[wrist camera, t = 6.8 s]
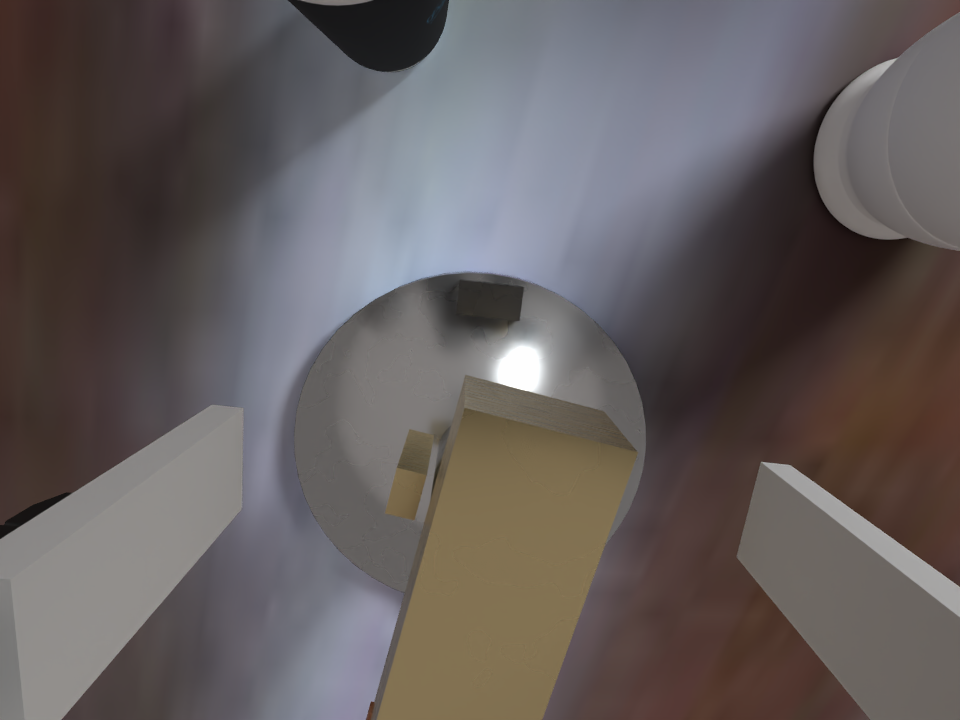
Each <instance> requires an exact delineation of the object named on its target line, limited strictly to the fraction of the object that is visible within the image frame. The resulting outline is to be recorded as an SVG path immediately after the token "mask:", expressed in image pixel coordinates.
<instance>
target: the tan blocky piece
mask: <svg viewBox="0 0 960 720" xmlns="http://www.w3.org/2000/svg"><path fill="white" fill-rule="evenodd" d="M433 439H434V435H431V434H427V433H423V432H419V431H415V430H411V429H409V432H408V435H407V438H406V441H405V444H404V447H403V450H402V453H401V456H400V459H399V462H398V466H397V469H396V473H395V476H394V480H393V484H392V488H391V492H390V496H389V500H388V503H387V507H386V511H385V514H390V515H394V516H398V517H402V518H406V519H410V520H415V517H416V513H417V509H418V506H419V502H420V498H421V495H422V491H423V487H424V484H425V480H426V476H427V472H428V466H429V461H430V455H431V450H432V444H433ZM637 455H638V452H637V450H636V449H635V448H634V447H633V446H632V444H631V443H630V442H629V441H628V440H627V438H626V437H625V436H624V435H623V434H622V432H621V431H620V430H619V429H618V427H617V426H616V425H615V424H614V423H613V421H612V420H611V419H610V418H609V417H608V415H607V414H606V413H605V412H604V411H602V410H598V409H594V408H590V407H586V406H583V405H579V404H575V403H571V402H567V401H564V400H560V399H556V398H552V397H548V396H545V395H541V394H537V393H533V392H529V391H526V390H522V389H518V388H514V387H510V386H507V385H503V384H499V383H495V382H491V381H488V380H484V379H480V378H476V377H472V376H469V375H465V378H464V382H463V385H462V389H461V392H460V396H459V400H458V403H457V407H456V410H455V414H454V417H453V421H452V425H451V428H450V432H449V435H448V439H447V443H446V446H445V450H444V453H443V457H442V461H441V464H440V468H439V471H438V475H437V479H436V482H435V486H434V489H433V493H432V497H431V500H430V504H429V507H428V511H427V514H426V518H425V522H424V525H423V529H422V532H421V536H420V540H419V543H418V547H417V550H416V554H415V558H414V561H413V565H412V568H411V572H410V576H409V579H408V583H407V586H406V590H405V593H404V597H403V601H402V604H401V608H400V611H399V615H398V619H397V622H396V626H395V629H394V633H393V637H392V640H391V644H390V647H389V651H388V655H387V658H386V662H385V665H384V669H383V673H382V676H381V680H380V683H379V687H378V690H377V694H376V698H375V701H374V702H371V703H370V707H369V710H368V714H367V718H366V720H542V719H543V716H544V713H545V710H546V707H547V705H548V702H549V699H550V696H551V694H552V691H553V688H554V685H555V682H556V680H557V677H558V674H559V671H560V669H561V666H562V663H563V660H564V657H565V655H566V652H567V649H568V646H569V644H570V641H571V638H572V635H573V632H574V630H575V627H576V624H577V621H578V619H579V616H580V613H581V610H582V607H583V605H584V602H585V599H586V596H587V594H588V591H589V588H590V585H591V582H592V580H593V577H594V574H595V571H596V569H597V566H598V563H599V560H600V557H601V555H602V552H603V549H604V546H605V544H606V541H607V538H608V535H609V532H610V530H611V527H612V524H613V521H614V519H615V516H616V513H617V510H618V507H619V505H620V502H621V499H622V496H623V494H624V491H625V488H626V485H627V482H628V480H629V477H630V474H631V471H632V469H633V466H634V463H635V460H636V457H637Z"/></svg>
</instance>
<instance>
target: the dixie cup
mask: <svg viewBox="0 0 960 720" xmlns="http://www.w3.org/2000/svg"><path fill="white" fill-rule="evenodd" d="M288 1H289V2H290V3H291V4H293V5H294V6H295V7H296V8H297V9H298V10H299V11H300V12H301V13H302V14H303V15H304V16H305V17H306V18H308V19H309V20H310V21H311V22H312V23H313V24H314V25H315V26H316V27H317V28H318V29H319V30H320V31H322V32H323V33H324V34H325V35H326V36H327V37H328V38H329V39H330V40H331V41H332V42H333V43H334V44H335V45H337V46H338V47H339V48H340V49H341V50H342V51H343V52H344V53H345V54H346V55H347V56H348V57H350V58H351V59H352V60H354V61H355V62H357V63H358V64H360V65H362V66H364V67H367V68H369V69H373V70H377V71H386V72H396V71H402V70H405V69H408V68H411V67H413V66H414V65H416V64H418V63H419V62H420V61H422V60H423V59H424V58H425V57H426V56H427V55H428V54H429V53H430V52H431V51H432V49H433V48H434V47H435V45H436V44H437V42H438V40H439V38H440V36H441V34H442V32H443V29H444V26H445V22H446V17H447V10H448V3H449V0H288Z"/></svg>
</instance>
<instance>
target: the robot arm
mask: <svg viewBox="0 0 960 720" xmlns="http://www.w3.org/2000/svg"><path fill="white" fill-rule="evenodd" d="M242 476H243V408H239V407H229V406H220V405H211V406H209V407H208V408H206V409H204V410H203V411H201V412H200V413H198V414H197V415H195V416H193V417H192V418H190V419H189V420H187V421H186V422H184V423H182V424H181V425H179V426H178V427H176V428H175V429H173V430H171V431H170V432H168V433H167V434H165V435H163V436H162V437H160V438H159V439H157V440H156V441H154V442H152V443H151V444H149V445H148V446H146V447H145V448H143V449H141V450H140V451H138V452H137V453H135V454H134V455H132V456H130V457H129V458H127V459H126V460H124V461H123V462H121V463H119V464H118V465H116V466H115V467H113V468H112V469H110V470H108V471H107V472H105V473H104V474H102V475H100V476H99V477H97V478H96V479H94V480H93V481H91V482H89V483H88V484H86V485H85V486H83V487H82V488H80V489H78V490H77V491H75V492H74V493H64V494H61V495H59V496H56V497H53V498H51V499H48V500H45V501H42V502H40V503H37V504H34V505H32V506H30V507H29V508H27V509H25V510H24V511H22V512H20V513H19V514H17V515H16V516H14V517H12V518H11V519H9V520H7V521H6V522H5V524H4V525H0V720H61V719H62V718H63V717H64V716H65V715H66V714H67V712H68V711H69V710H70V709H71V708H72V707H73V705H74V704H75V703H76V702H77V701H78V700H79V698H80V697H81V696H82V695H83V694H84V693H85V691H86V690H87V689H88V688H89V687H90V686H91V684H92V683H93V682H94V681H95V680H96V679H97V677H98V676H99V675H100V674H101V673H102V672H103V670H104V669H105V668H106V667H107V666H108V665H109V663H110V662H111V661H112V660H113V659H114V658H115V656H116V655H117V654H118V653H119V652H120V651H121V649H122V648H123V647H124V646H125V645H126V644H127V642H128V641H129V640H130V639H131V638H132V637H133V635H134V634H135V633H136V632H137V631H138V630H139V628H140V627H141V626H142V625H143V624H144V623H145V621H146V620H147V619H148V618H149V617H150V616H151V614H152V613H153V612H154V611H155V610H156V609H157V607H158V606H159V605H160V604H161V603H162V602H163V600H164V599H165V598H166V597H167V596H168V595H169V593H170V592H171V591H172V590H173V589H174V588H175V587H176V585H177V584H178V583H179V582H180V581H181V580H182V578H183V577H184V576H185V575H186V574H187V573H188V571H189V570H190V569H191V568H192V567H193V566H194V564H195V563H196V562H197V561H198V560H199V559H200V557H201V556H202V555H203V554H204V553H205V552H206V550H207V549H208V548H209V547H210V546H211V545H212V543H213V542H214V541H215V540H216V539H217V538H218V536H219V535H220V534H221V533H222V532H223V531H224V529H225V528H226V527H227V526H228V525H229V524H230V522H231V521H232V520H233V519H234V518H235V517H236V515H237V514H238V513H239V512H240V511H241V510H242ZM737 558H738V559H739V561H740V562H741V563H742V564H743V565H744V567H745V568H746V569H747V570H748V571H749V573H750V574H751V575H752V576H753V578H754V579H755V580H756V581H757V582H758V584H759V585H760V586H761V587H762V588H763V590H764V591H765V592H766V593H767V595H768V596H769V597H770V598H771V599H772V601H773V602H774V603H775V604H776V605H777V607H778V608H779V609H780V610H781V612H782V613H783V614H784V615H785V616H786V618H787V619H788V620H789V621H790V622H791V624H792V625H793V626H794V627H795V629H796V630H797V631H798V632H799V633H800V635H801V636H802V637H803V638H804V639H805V641H806V642H807V643H808V644H809V646H810V647H811V648H812V649H813V650H814V652H815V653H816V654H817V655H818V656H819V658H820V659H821V660H822V661H823V663H824V664H825V665H826V666H827V667H828V669H829V670H830V671H831V672H832V673H833V675H834V676H835V677H836V678H837V680H838V681H839V682H840V683H841V684H842V686H843V687H844V688H845V689H846V690H847V692H848V693H849V694H850V695H851V697H852V698H853V699H854V700H855V701H856V703H857V704H858V705H859V706H860V707H861V709H862V710H863V711H864V712H865V714H866V715H867V716H868V717H869V718H870V720H960V587H959V586H958V585H956V584H955V583H953V582H952V581H951V580H949V579H948V578H946V577H945V576H944V575H942V574H941V573H939V572H938V571H937V570H935V569H934V568H933V567H931V566H930V565H928V564H927V563H926V562H924V561H923V560H921V559H920V558H919V557H917V556H916V555H914V554H913V553H912V552H910V551H909V550H907V549H906V548H905V547H903V546H902V545H900V544H899V543H898V542H896V541H895V540H894V539H892V538H891V537H889V536H888V535H887V534H885V533H884V532H882V531H881V530H880V529H878V528H877V527H875V526H874V525H873V524H871V523H870V522H868V521H867V520H866V519H864V518H863V517H862V516H860V515H859V514H857V513H856V512H855V511H853V510H852V509H850V508H849V507H848V506H846V505H845V504H843V503H842V502H841V501H839V500H838V499H836V498H835V497H834V496H832V495H831V494H830V493H828V492H827V491H825V490H824V489H823V488H821V487H820V486H818V485H817V484H816V483H814V482H813V481H811V480H810V479H809V478H807V477H806V476H804V475H803V474H802V473H800V472H799V471H797V470H796V469H795V468H793V467H792V466H791V465H784V464H775V463H765V462H761V464H760V468H759V471H758V475H757V479H756V483H755V487H754V491H753V495H752V499H751V503H750V507H749V511H748V515H747V519H746V522H745V526H744V530H743V534H742V538H741V542H740V546H739V550H738V554H737Z"/></svg>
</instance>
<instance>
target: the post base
mask: <svg viewBox="0 0 960 720" xmlns="http://www.w3.org/2000/svg"><path fill="white" fill-rule="evenodd" d="M465 375H469V376H472V377H476V378H480V379H484V380H488V381H491V382H495V383H499V384H503V385H507V386H510V387H514V388H518V389H522V390H526V391H529V392H533V393H537V394H541V395H545V396H548V397H552V398H556V399H560V400H564V401H567V402H571V403H575V404H579V405H583V406H586V407H590V408H594V409H598V410H602V411H604V412H605V413H606V414H607V415H608V417H609V418H610V419H611V420H612V421H613V423H614V424H615V425H616V426H617V427H618V429H619V430H620V431H621V432H622V434H623V435H624V436H625V437H626V438H627V440H628V441H629V442H630V443H631V444H632V446H633V447H634V448H635V449H636V450H637V452H638V455H637V457H636V460H635V463H634V466H633V469H632V471H631V474H630V477H629V480H628V482H627V485H626V488H625V491H624V494H623V496H622V499H621V502H620V505H619V507H618V510H617V513H616V516H615V519H614V521H613V524H612V527H611V530H610V532H609V535H608V538H607V541H606V543H607V542H608V541H609V539H610V538H611V537H612V535H613V534H614V533H615V531H616V530H617V529H618V528H619V526H620V524H621V523H622V521H623V519H624V517H625V516H626V514H627V512H628V510H629V509H630V506H631V504H632V502H633V499H634V497H635V494H636V492H637V490H638V486H639V482H640V479H641V475H642V471H643V467H644V458H645V450H646V424H645V418H644V411H643V405H642V401H641V398H640V394H639V391H638V388H637V384H636V381H635V379H634V377H633V375H632V373H631V371H630V369H629V366H628V364H627V362H626V360H625V359H624V357H623V356H622V354H621V353H620V351H619V350H618V348H617V347H616V345H615V343H614V342H613V341H612V340H611V339H610V337H609V336H608V335H607V334H606V333H605V332H604V331H603V329H602V328H601V327H600V326H599V325H598V324H597V323H596V322H595V321H594V320H592V319H591V318H590V317H589V316H588V315H587V314H586V313H584V312H583V311H582V310H581V309H579V308H578V307H576V306H575V305H573V304H572V303H570V302H569V301H567V300H566V299H564V298H563V297H561V296H559V295H557V294H556V293H553V292H551V291H549V290H547V289H545V288H543V287H541V286H539V285H537V284H534V283H531V282H528V281H525V280H522V279H519V278H516V277H512V276H507V275H501V274H496V273H488V272H456V273H444V274H440V275H435V276H431V277H426V278H422V279H419V280H416V281H413V282H411V283H408V284H405V285H402V286H400V287H398V288H396V289H394V290H392V291H390V292H388V293H386V294H384V295H383V296H381V297H379V298H377V299H375V300H374V301H372V302H371V303H369V304H368V305H367V306H365V307H364V308H362V309H361V310H360V311H358V312H357V313H355V314H354V315H353V316H352V317H351V318H350V319H349V320H348V321H347V322H346V323H345V324H344V325H343V326H341V327H340V328H339V329H338V330H337V331H336V333H335V334H334V335H333V336H332V338H331V339H330V340H329V341H328V343H327V344H326V345H325V346H324V348H323V349H322V351H321V352H320V354H319V356H318V357H317V359H316V361H315V362H314V364H313V366H312V368H311V370H310V372H309V374H308V377H307V379H306V382H305V384H304V386H303V389H302V392H301V396H300V400H299V404H298V408H297V412H296V421H295V429H294V448H295V460H296V466H297V472H298V477H299V480H300V483H301V487H302V490H303V493H304V496H305V499H306V501H307V503H308V505H309V507H310V509H311V511H312V513H313V516H314V517H315V519H316V520H317V522H318V524H319V525H320V527H321V528H322V530H323V531H324V533H325V534H326V536H327V537H328V538H329V539H330V540H331V541H332V543H333V544H334V545H335V546H336V547H337V549H338V550H339V551H340V552H341V553H342V554H343V555H345V556H346V557H347V558H348V559H349V560H350V561H351V562H352V563H353V564H354V565H356V566H357V567H358V568H360V569H361V570H363V571H364V572H365V573H367V574H368V575H370V576H371V577H372V578H374V579H376V580H378V581H380V582H382V583H383V584H385V585H387V586H389V587H391V588H393V589H396V590H398V591H401V592H403V593H405V590H406V586H407V583H408V579H409V576H410V572H411V568H412V565H413V561H414V558H415V554H416V550H417V547H418V543H419V540H420V536H421V532H422V529H423V525H424V522H425V518H426V514H427V511H428V507H429V504H430V500H431V497H432V493H433V489H434V486H435V482H436V479H437V475H438V471H439V468H440V464H441V461H442V457H443V453H444V450H445V446H446V443H447V439H448V435H449V432H450V428H451V425H452V421H453V417H454V414H455V410H456V407H457V403H458V400H459V396H460V392H461V389H462V385H463V382H464V378H465ZM409 429H411V430H415V431H419V432H423V433H427V434H431V435H434V439H433V444H432V450H431V455H430V461H429V466H428V472H427V476H426V480H425V484H424V487H423V491H422V495H421V498H420V502H419V506H418V509H417V513H416V517H415V520H410V519H406V518H402V517H398V516H394V515H390V514H385V511H386V507H387V503H388V500H389V496H390V492H391V488H392V484H393V480H394V476H395V473H396V469H397V466H398V462H399V459H400V456H401V453H402V450H403V447H404V444H405V441H406V438H407V435H408V432H409Z"/></svg>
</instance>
